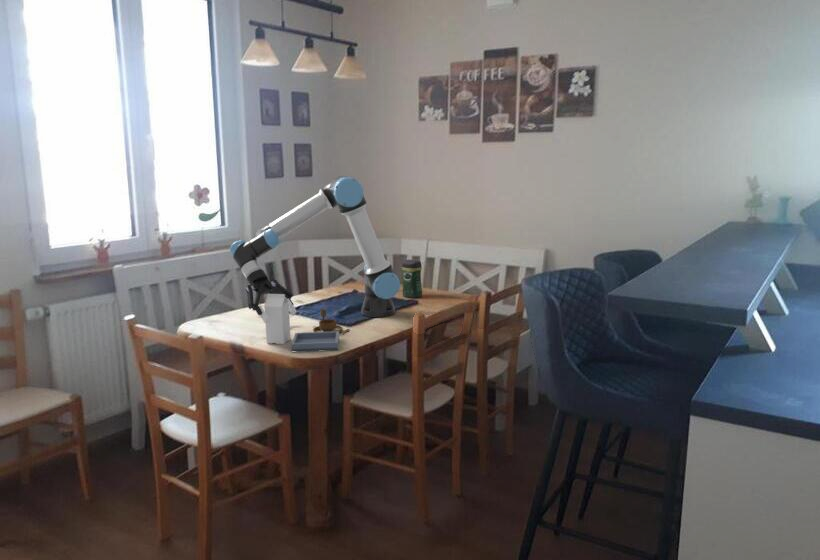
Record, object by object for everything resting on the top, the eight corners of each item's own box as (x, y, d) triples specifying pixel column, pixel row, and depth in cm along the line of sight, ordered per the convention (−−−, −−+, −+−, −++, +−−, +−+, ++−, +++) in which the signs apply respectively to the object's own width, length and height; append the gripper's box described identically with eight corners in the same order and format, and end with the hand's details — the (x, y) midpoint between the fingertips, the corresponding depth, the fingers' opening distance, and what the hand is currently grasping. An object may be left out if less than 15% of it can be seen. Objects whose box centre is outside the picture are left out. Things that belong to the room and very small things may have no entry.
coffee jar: (424, 296, 325) (424, 259, 321) (415, 299, 319) (414, 262, 315) (409, 293, 331) (409, 257, 327) (400, 296, 324) (399, 260, 321)
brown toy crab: (301, 335, 262) (301, 321, 261) (320, 322, 281) (320, 309, 280) (342, 338, 258) (342, 323, 256) (359, 324, 277) (358, 311, 275)
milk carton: (284, 344, 249) (281, 296, 245) (266, 343, 250) (263, 295, 246) (290, 339, 256) (288, 292, 252) (273, 338, 257) (270, 291, 253)
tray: (339, 338, 255) (338, 331, 255) (337, 350, 241) (337, 342, 240) (295, 340, 254) (295, 332, 253) (291, 352, 239) (291, 344, 239)
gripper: (276, 275, 268) (301, 316, 261) (224, 285, 249) (250, 329, 243) (283, 264, 263) (309, 305, 256) (231, 273, 245) (258, 318, 238)
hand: (281, 317), depth 250 cm, fingers open, 13 cm apart
